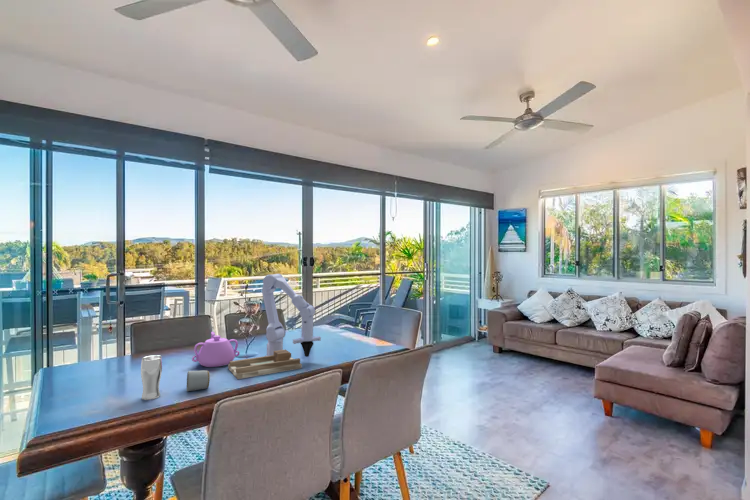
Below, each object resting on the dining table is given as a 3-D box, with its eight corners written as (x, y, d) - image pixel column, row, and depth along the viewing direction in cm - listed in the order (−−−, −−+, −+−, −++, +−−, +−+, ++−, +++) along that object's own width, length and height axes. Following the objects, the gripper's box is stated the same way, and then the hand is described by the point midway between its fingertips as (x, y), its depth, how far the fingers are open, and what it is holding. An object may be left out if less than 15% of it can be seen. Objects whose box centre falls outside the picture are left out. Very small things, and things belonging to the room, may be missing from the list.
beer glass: (146, 393, 147) (146, 355, 147) (164, 393, 148) (165, 355, 148) (136, 400, 140) (137, 360, 140) (156, 400, 141) (156, 360, 141)
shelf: (228, 368, 180) (228, 360, 180) (288, 359, 196) (288, 351, 196) (237, 379, 166) (237, 370, 166) (301, 368, 182) (301, 360, 182)
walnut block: (273, 361, 186) (273, 351, 186) (285, 359, 190) (285, 349, 190) (277, 364, 181) (277, 353, 181) (289, 362, 185) (289, 352, 185)
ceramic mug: (210, 390, 152) (210, 371, 152) (187, 394, 148) (187, 374, 148) (206, 382, 161) (207, 364, 161) (185, 385, 157) (185, 367, 157)
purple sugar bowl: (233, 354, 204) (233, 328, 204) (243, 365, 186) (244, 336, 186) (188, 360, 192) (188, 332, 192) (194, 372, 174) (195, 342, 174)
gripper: (297, 332, 186) (296, 360, 186) (323, 329, 194) (323, 356, 194) (291, 329, 191) (290, 356, 191) (317, 327, 200) (317, 352, 200)
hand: (306, 356), depth 193 cm, fingers closed
